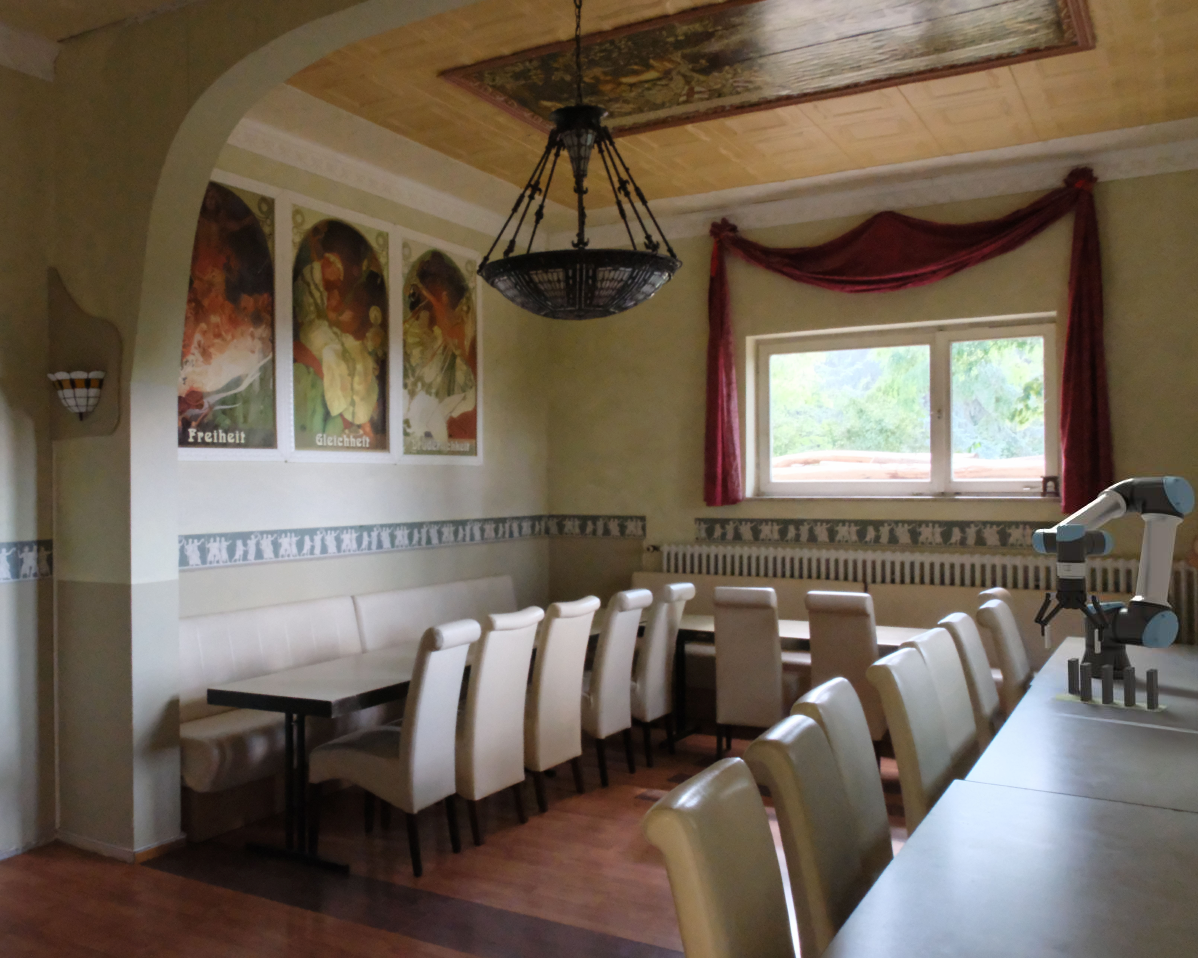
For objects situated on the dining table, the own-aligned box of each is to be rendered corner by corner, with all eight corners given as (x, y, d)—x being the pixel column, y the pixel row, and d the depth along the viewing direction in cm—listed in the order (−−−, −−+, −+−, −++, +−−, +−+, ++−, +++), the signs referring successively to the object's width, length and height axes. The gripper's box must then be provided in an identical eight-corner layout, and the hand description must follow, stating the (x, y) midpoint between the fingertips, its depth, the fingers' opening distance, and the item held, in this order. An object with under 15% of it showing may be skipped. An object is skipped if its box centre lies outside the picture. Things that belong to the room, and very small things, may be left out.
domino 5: (1151, 705, 263) (1150, 668, 263) (1158, 706, 262) (1157, 669, 262) (1147, 708, 259) (1146, 671, 259) (1153, 709, 258) (1153, 671, 258)
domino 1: (1073, 691, 285) (1072, 657, 285) (1079, 692, 284) (1078, 658, 284) (1068, 694, 281) (1067, 660, 282) (1074, 695, 280) (1073, 660, 281)
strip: (1060, 695, 280) (1060, 693, 280) (1167, 708, 262) (1167, 706, 262) (1051, 700, 273) (1050, 698, 273) (1159, 714, 255) (1159, 711, 255)
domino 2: (1085, 697, 274) (1085, 662, 274) (1091, 698, 273) (1091, 662, 273) (1080, 700, 270) (1079, 664, 270) (1086, 701, 269) (1085, 665, 269)
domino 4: (1129, 702, 266) (1128, 666, 267) (1135, 703, 265) (1134, 667, 266) (1124, 706, 263) (1123, 669, 263) (1130, 706, 262) (1130, 669, 262)
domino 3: (1107, 700, 270) (1106, 664, 270) (1113, 701, 269) (1112, 664, 269) (1102, 703, 266) (1101, 666, 266) (1108, 704, 265) (1107, 667, 265)
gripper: (1022, 575, 289) (1023, 647, 288) (1114, 580, 272) (1116, 656, 272) (1031, 574, 294) (1031, 644, 294) (1121, 578, 278) (1123, 652, 277)
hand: (1072, 650), depth 283 cm, fingers open, 13 cm apart
